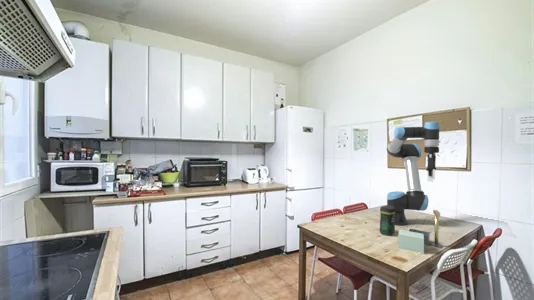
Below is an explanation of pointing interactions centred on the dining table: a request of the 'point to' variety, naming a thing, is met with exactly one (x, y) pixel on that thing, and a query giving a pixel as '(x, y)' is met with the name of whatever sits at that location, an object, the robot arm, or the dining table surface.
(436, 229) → the t key
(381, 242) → the dining table surface
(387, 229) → the coffee jar
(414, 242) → the mint green block
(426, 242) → the block
